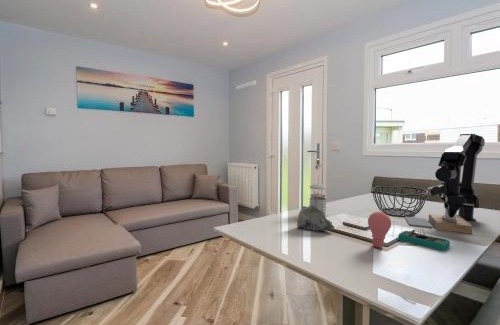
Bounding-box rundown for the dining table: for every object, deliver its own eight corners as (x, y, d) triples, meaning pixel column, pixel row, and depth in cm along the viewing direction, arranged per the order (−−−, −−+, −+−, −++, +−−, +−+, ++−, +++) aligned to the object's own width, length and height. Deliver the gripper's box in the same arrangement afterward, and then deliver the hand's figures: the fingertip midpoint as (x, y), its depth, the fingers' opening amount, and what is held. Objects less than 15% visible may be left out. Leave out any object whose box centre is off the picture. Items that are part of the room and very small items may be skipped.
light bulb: (384, 243, 96) (386, 210, 95) (393, 251, 89) (395, 215, 88) (363, 242, 97) (365, 209, 96) (370, 250, 90) (372, 214, 89)
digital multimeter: (403, 236, 106) (404, 229, 105) (450, 247, 95) (450, 239, 94) (396, 240, 101) (396, 233, 101) (444, 253, 90) (444, 244, 89)
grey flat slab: (405, 217, 132) (405, 216, 132) (426, 219, 128) (426, 218, 128) (409, 225, 119) (409, 224, 119) (432, 228, 116) (432, 226, 116)
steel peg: (441, 224, 122) (443, 206, 121) (452, 225, 120) (454, 207, 120) (444, 226, 118) (445, 208, 118) (455, 228, 117) (456, 209, 116)
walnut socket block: (428, 219, 129) (429, 213, 129) (459, 223, 124) (460, 216, 124) (436, 229, 114) (436, 222, 114) (472, 233, 109) (472, 226, 109)
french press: (329, 213, 137) (331, 163, 135) (325, 219, 126) (327, 165, 124) (309, 211, 141) (311, 162, 139) (303, 216, 130) (305, 164, 129)
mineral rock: (335, 233, 107) (336, 208, 106) (313, 237, 102) (314, 210, 101) (314, 224, 118) (314, 201, 118) (293, 227, 114) (294, 203, 113)
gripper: (425, 176, 130) (423, 209, 131) (434, 181, 112) (432, 218, 113) (454, 178, 125) (451, 211, 126) (467, 183, 108) (465, 222, 109)
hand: (449, 215), depth 119 cm, fingers open, 6 cm apart
